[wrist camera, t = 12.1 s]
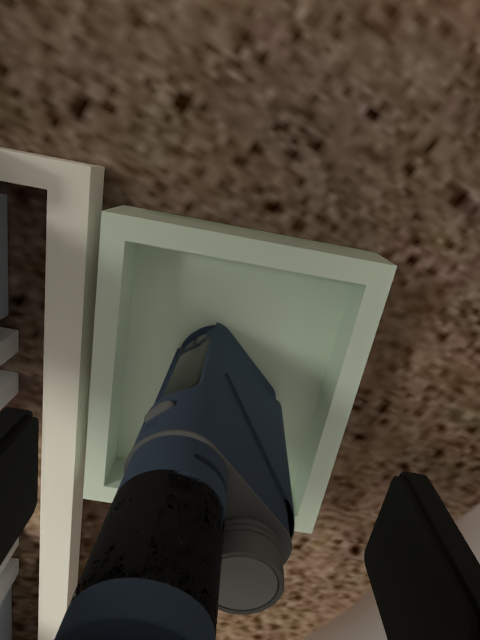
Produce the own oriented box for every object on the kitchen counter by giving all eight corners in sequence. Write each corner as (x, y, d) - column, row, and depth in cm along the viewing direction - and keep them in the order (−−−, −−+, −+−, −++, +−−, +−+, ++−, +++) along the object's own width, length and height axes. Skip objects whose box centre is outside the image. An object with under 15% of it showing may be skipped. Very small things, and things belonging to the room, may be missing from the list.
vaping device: (216, 307, 16) (122, 667, 4) (291, 406, 17) (366, 874, 6) (164, 342, 16) (-43, 742, 5) (240, 435, 18) (217, 912, 6)
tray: (124, 204, 15) (101, 210, 13) (374, 252, 16) (397, 266, 13) (102, 458, 19) (82, 498, 17) (304, 490, 19) (311, 533, 17)
